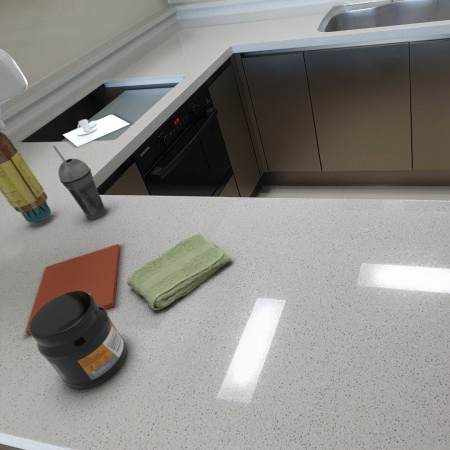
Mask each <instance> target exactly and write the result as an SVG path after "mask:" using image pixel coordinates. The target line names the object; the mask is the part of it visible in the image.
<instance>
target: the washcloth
mask: <svg viewBox="0 0 450 450" xmlns="http://www.w3.org/2000/svg"><path fill="white" fill-rule="evenodd" d="M231 260H232V258H231V256H230V255H229V254H228V253H227V252H225V251H224V250H223V249H222V248H221V247H219V245H217V244H215V243H213V241H211V240H209V239H207V238H205V236H203V234H202V233H199V234H194V235H192V236H189V237H188V238H185V239H183V240H181V241H180V242H178V243H177V244H175V245H174V246H172V247H171V248H169V249H168V250H166V251H165V252H163V253H162V254H161V255H159V256H158V257H156V258H154V259H152V260H151V261H149V262H146V263H145V264H144V265H143V266H141V267H139V268H138V269H136V270H134V271H133V272H132V274H131V275H129V277H128V278H127V280H126V284H127V286H128V287H130V288H131V289H132V290H133V291H135V293H137V295H140V296H142V297H143V298H144V301H146V303H147V304H148V306H149V307H150V309H152V310H154V311H160V310H163V309H165V308H167V307H168V306H169V305H171V304H172V303H174V302H175V301H177V300H178V299H180V298H181V297H185V296H186V295H188V294H189V293H191V292H192V291H193V290H194V289H195V288H197V287H198V286H199V285H200V284H203V282H205V281H206V280H207V279H209V278H210V277H211V276H212V275H213V274H215V273H216V272H217V271H218V270H220V268H223V267H224V266H225V265H227V263H229V262H230V261H231Z"/></svg>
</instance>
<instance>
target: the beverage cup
mask: <svg viewBox="0 0 450 450" xmlns="http://www.w3.org/2000/svg"><path fill="white" fill-rule="evenodd" d="M52 148H53V149H54V150H55V152H56V153H57V154H58V156H59V157H60V159H61V160H62V162H61V164H60V166H59V167H58V178H59V181H60V183H61V184H62V185H63V187H65V189H66V190H67V191H68V192H69V193H70V195H71V196H72V198H73V199H74V201H75V202H76V204H77V205H78V207H79V208H80V209H81V210H82V212H83V213H84V215H85V216H86V217H87V218H88V220H92V221H93V220H97V219H99V218H101V217H103V216H104V215H105V214H106V212H107V210H106V208H105V205H104V202H103V200H102V197H101V196H100V193H99V190H98V188H97V186H96V183H95V181H94V176H93V173H92V169H91V168H90V167H89V166H88V164H87V163H85V162H84V161H83V160H81V159H79V158H68V159H65V158H64V156H63V155H62V154H61V152H60V151H59V149H58V148H57V146H56V145H53V146H52Z"/></svg>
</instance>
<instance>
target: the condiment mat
mask: <svg viewBox="0 0 450 450" xmlns="http://www.w3.org/2000/svg"><path fill="white" fill-rule="evenodd" d="M120 253H121V246H120V244H119V243H116V244H113V245H111V246H107V247H104V248H101V249H97V250H95V251H92V252H89V253H85V254H82V255H78V256H76V257H73V258H69V259H67V260H63V261H59V262H56V263H54V264H51V265H48V266H45V268H44V271H43V274H42V277H41V281H40V284H39V288H38V291H37V294H36V297H35V299H34V304H33V307H32V310H31V313H30V316H29V319H28V322H27V325H26V327H25V328H26V329H25V333H26V335H27V336H30V335H31V334H30V332H29V325H30V322H31V320H32V318H33V316H34V315H35V314H36V312H37V311H38V310H39V309H40V308H41V307H42V306H44V305H45V304H46V303H48V302H49V301H51V300H52V299H54V298H56V297H58V296H60V295H62V294H65V293H68V292H72V291H85V292H88V293H90V294H91V295H92V296H93V298H94V299H95V301H96V302H97V304H99V305H101V306H102V307H104V308H105V310H108V309H111V308H114V307H115V303H116V294H117V286H118V285H117V283H118V274H119V263H120Z"/></svg>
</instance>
